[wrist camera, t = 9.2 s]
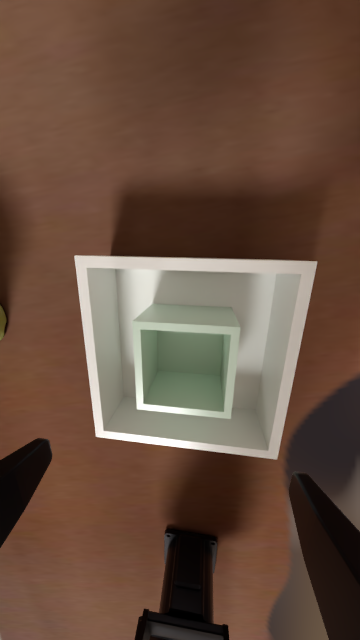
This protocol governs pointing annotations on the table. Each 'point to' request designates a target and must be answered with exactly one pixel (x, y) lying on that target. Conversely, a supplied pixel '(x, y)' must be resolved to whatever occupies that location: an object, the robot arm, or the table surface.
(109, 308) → the big crate
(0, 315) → the plant pot
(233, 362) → the small crate
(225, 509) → the table surface
